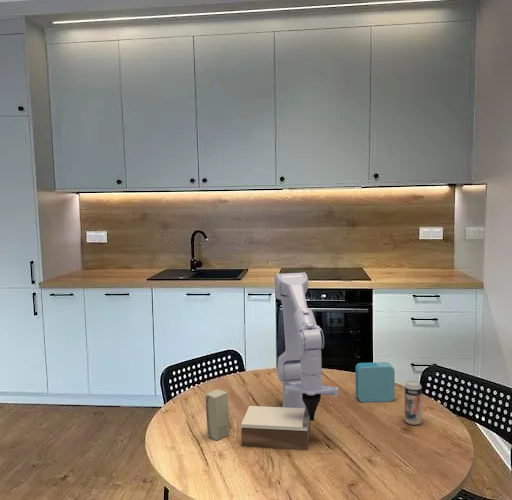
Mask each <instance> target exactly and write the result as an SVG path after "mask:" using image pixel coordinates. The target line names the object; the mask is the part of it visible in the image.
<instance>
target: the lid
mask: <svg viewBox="0 0 512 500" xmlns="http://www.w3.org/2000/svg"><path fill="white" fill-rule="evenodd" d="M308 422H309V413H308V410H307V408H306V406H305V408H285V407H282V406H281V407H280V406H262V405H261V406H259V405H249V406H248V408H247V410H246V412H245V415H244V417H243V419H242V422H241V424H240V425H241V426H240V427H241V429H242V428H258V429H277V430H295V431H307V429H308Z"/></svg>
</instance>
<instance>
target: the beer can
mask: <svg viewBox="0 0 512 500" xmlns="http://www.w3.org/2000/svg"><path fill="white" fill-rule="evenodd" d="M422 388H423V387H422V385H421V383H420V382H418V381H415V380H409V381H406V383H405V385H404V421H405V423H406V424H409V425H411V426H418V425H420V424H422V423H423V422H422V401H423V400H422V397H423V396H422V395H423V394H422V390H423V389H422Z"/></svg>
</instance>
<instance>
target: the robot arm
mask: <svg viewBox="0 0 512 500" xmlns="http://www.w3.org/2000/svg"><path fill="white" fill-rule="evenodd" d="M308 289H309V278H308V274H307V273H306V271H303V272H291V273H289V272H287V273H276V274H275V276H274V291H275V292H274V293H275V299H277V300H279V301H280V302H281V305H282V318H283V332H284V333H283V334H284V346H285V350H284V351H283V352H282V353H281V354H280V355H279V356H278V357H277V365H276V367H277V368H276V369H277V370H276V371H277V372H276V373H277V379H278V381H280V382H281V383H282V401H283V402H282V405H281V407H285V408H305V406H306V408H307V410H308V413H309V417H310V422H312V421H315V414H316V411H317V408H318V405H319V403H320V401H321V396H333V397H338V396H339V387H338V386H330V385H326V384H322V383H323V381H322V380H323V379H322V378H323V375H322V350H324V347H325V335H324V333H323V329H322V328H321V327H320V325H317V322H316V318H315V316H314V315H315V314H314V312H313V310H312V309H311V308H309V307H308V304H307V299H306V298H307V297H306V293H307V290H308Z"/></svg>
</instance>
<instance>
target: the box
mask: <svg viewBox="0 0 512 500" xmlns="http://www.w3.org/2000/svg"><path fill="white" fill-rule="evenodd" d="M228 394H229V393H228V392H227V391H224V390H221V389H219V388H218V389H215V390H213V391H209V392H207V393H205V411H206V429H207V437H209V438H211V439H213V440H215V441H219V440H221V439H223V438H225V437H228V436H229V435H230V429H231V428H230V415H229V412H230V410H229V395H228Z"/></svg>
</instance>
